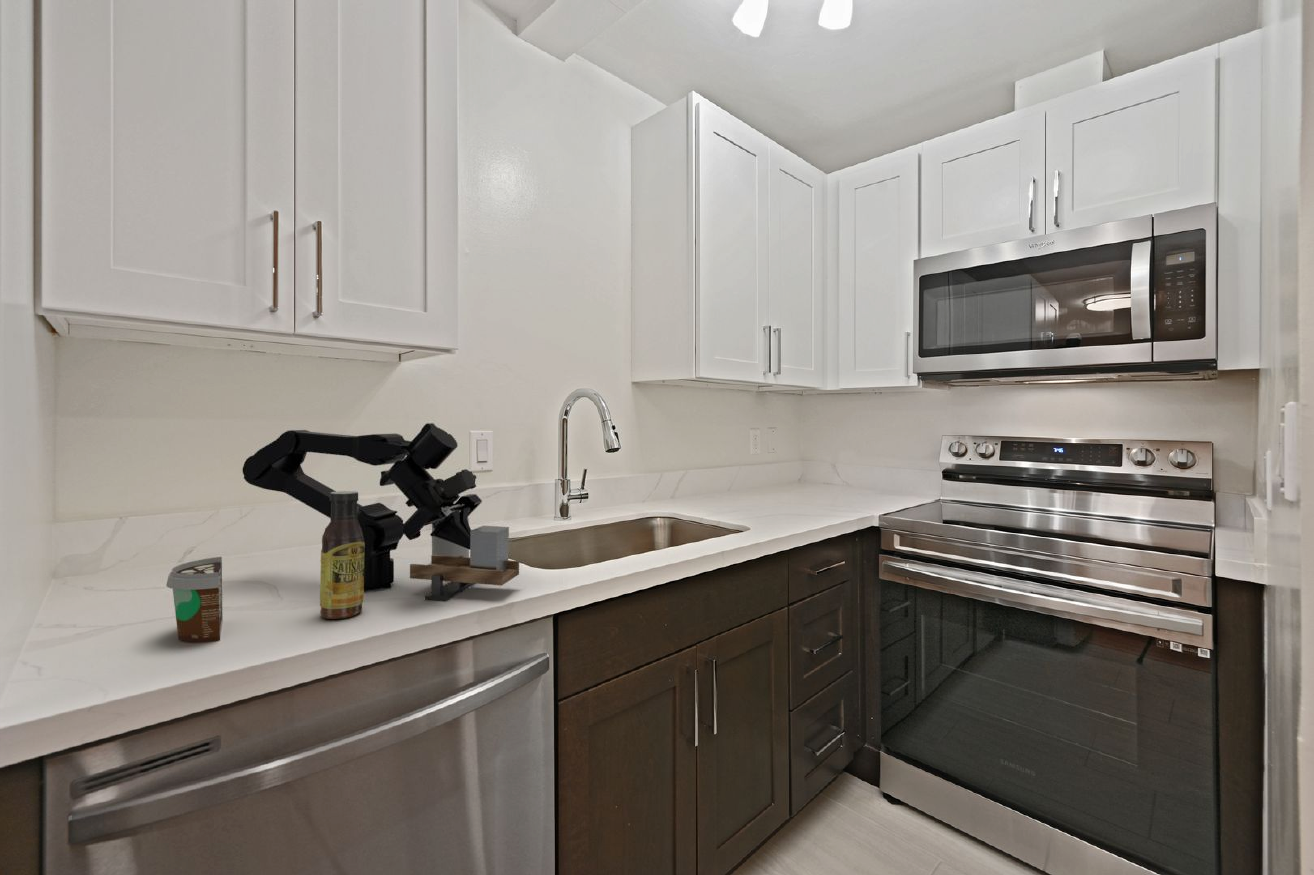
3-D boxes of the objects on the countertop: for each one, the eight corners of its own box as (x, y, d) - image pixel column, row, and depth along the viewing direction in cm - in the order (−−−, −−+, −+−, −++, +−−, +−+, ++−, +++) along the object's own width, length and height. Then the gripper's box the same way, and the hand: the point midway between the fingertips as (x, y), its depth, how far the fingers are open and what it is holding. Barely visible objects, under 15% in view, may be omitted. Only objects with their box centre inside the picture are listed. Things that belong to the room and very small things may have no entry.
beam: (408, 579, 103) (409, 563, 103) (433, 567, 111) (433, 553, 111) (501, 586, 100) (501, 570, 100) (519, 574, 108) (519, 559, 108)
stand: (424, 600, 101) (424, 575, 101) (457, 582, 112) (457, 560, 112) (445, 601, 100) (445, 577, 100) (476, 583, 111) (476, 561, 111)
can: (445, 572, 119) (444, 514, 119) (424, 566, 124) (424, 511, 123) (476, 565, 125) (475, 510, 125) (455, 560, 130) (455, 506, 129)
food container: (172, 626, 88) (171, 561, 87) (223, 618, 91) (221, 555, 91) (162, 653, 78) (160, 580, 77) (219, 643, 81) (218, 573, 81)
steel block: (469, 575, 103) (470, 530, 102) (482, 568, 108) (483, 525, 107) (496, 577, 102) (497, 532, 102) (508, 570, 107) (508, 527, 106)
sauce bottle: (333, 624, 89) (331, 495, 88) (311, 616, 92) (310, 492, 92) (373, 612, 95) (372, 491, 94) (351, 605, 98) (350, 488, 97)
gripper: (418, 459, 96) (480, 528, 95) (472, 453, 115) (525, 510, 113) (376, 505, 98) (436, 573, 96) (436, 491, 116) (487, 548, 115)
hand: (475, 548), depth 105 cm, fingers closed, pressing on steel block
